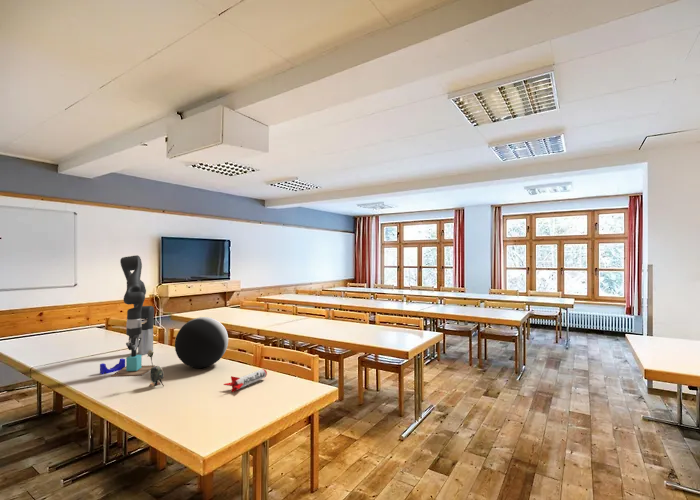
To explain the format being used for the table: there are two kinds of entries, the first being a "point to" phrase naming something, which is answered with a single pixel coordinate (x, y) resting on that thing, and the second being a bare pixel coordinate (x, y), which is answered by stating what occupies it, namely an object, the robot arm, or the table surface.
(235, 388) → the model rocket
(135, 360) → the aqua box
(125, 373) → the walnut board
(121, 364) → the cable clip
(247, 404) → the table surface
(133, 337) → the robot arm
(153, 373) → the plant with pod
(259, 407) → the table surface
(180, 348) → the black ball
